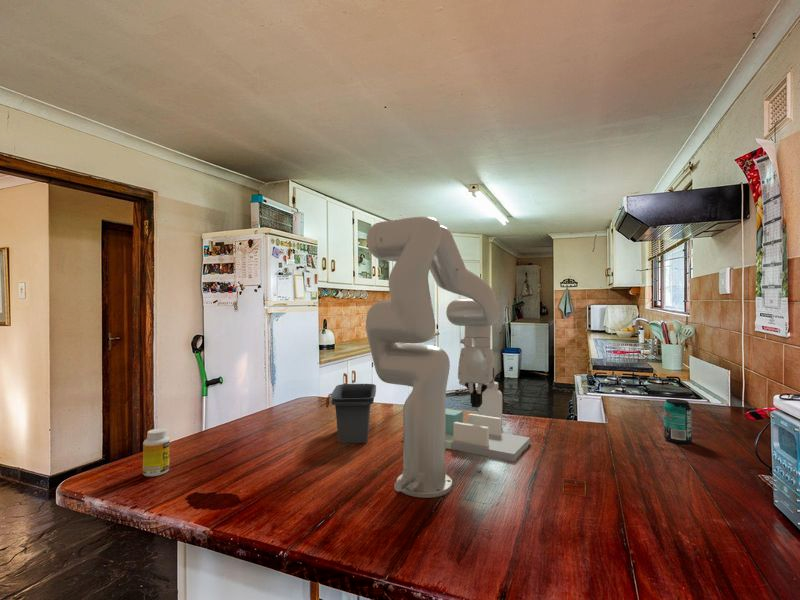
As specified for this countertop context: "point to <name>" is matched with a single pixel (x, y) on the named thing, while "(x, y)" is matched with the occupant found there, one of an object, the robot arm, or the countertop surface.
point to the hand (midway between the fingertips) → (476, 406)
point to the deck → (486, 438)
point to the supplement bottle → (156, 453)
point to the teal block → (452, 420)
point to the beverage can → (677, 421)
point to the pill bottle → (491, 403)
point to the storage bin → (352, 411)
